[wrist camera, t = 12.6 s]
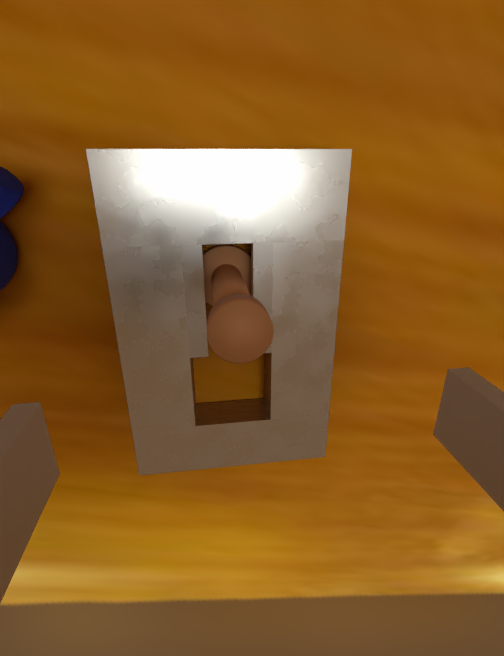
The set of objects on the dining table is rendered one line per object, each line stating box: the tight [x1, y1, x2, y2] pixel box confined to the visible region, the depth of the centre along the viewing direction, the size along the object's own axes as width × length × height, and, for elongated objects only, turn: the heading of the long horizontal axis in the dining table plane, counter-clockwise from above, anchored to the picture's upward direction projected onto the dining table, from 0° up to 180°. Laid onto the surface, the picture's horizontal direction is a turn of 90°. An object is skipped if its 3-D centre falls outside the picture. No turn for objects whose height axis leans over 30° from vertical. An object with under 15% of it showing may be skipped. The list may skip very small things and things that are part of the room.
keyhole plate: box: [86, 149, 352, 475], centre depth 30 cm, size 26×17×3 cm, turn 1°
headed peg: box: [203, 244, 274, 363], centre depth 24 cm, size 5×5×12 cm
